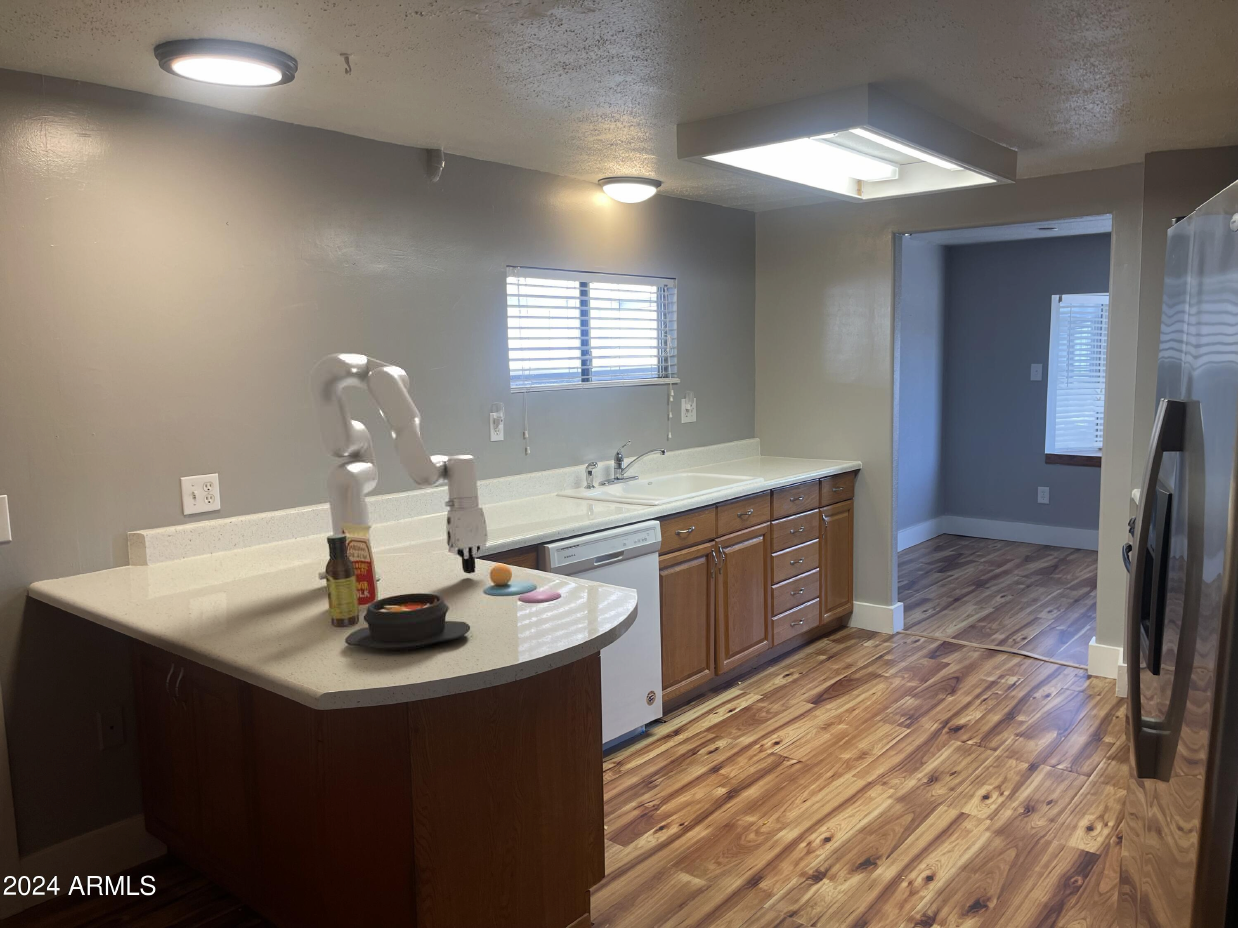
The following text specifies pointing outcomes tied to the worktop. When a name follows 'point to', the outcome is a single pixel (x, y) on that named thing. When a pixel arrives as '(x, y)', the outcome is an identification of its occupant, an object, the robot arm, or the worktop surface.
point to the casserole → (407, 623)
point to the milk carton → (362, 562)
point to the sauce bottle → (341, 583)
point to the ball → (500, 574)
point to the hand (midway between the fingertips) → (469, 572)
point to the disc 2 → (539, 596)
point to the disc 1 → (510, 588)
